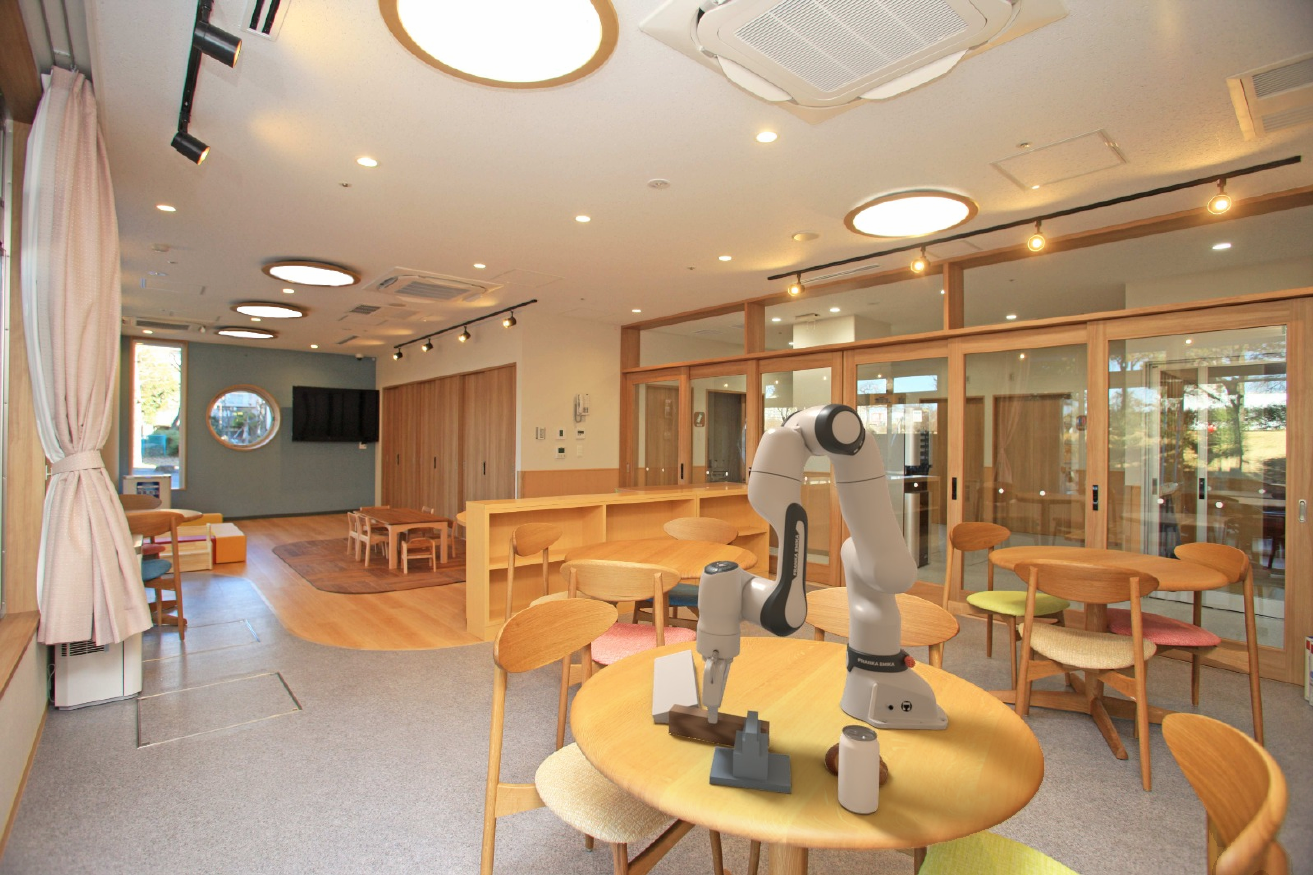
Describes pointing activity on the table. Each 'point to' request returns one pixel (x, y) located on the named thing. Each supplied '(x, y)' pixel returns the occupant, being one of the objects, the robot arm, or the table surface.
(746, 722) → the gray stepped block
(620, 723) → the table surface
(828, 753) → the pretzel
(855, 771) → the can
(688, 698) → the beige long block
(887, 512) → the robot arm
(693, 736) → the walnut bar
